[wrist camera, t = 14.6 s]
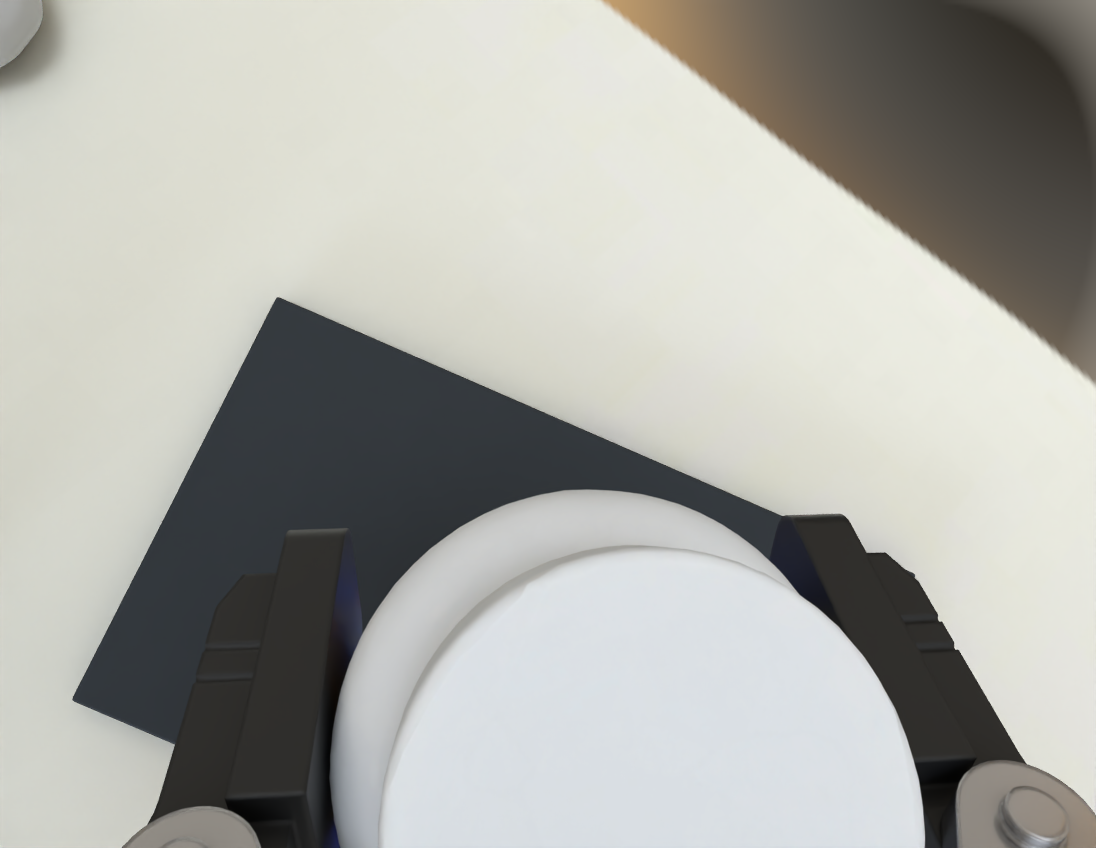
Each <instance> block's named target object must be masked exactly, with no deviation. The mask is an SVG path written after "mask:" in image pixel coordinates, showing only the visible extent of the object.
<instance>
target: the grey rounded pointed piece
mask: <svg viewBox="0 0 1096 848" xmlns="http://www.w3.org/2000/svg"><path fill="white" fill-rule="evenodd" d="M42 19H43V8H42V0H0V68H1V67H3V66H4V65H6V64H7V63H9V62H11V61H12V60H13V59H14V58H16V57H17V56H18V55H19V54H20V53H21V51H22V50H23V49H24V48H25V47H26V45H27V44H28V43H29V41H30V40H31V39H32V38H33V36H34V35H35V33H36V32H37V31H38V29H39V27H40V25H41V22H42Z"/></svg>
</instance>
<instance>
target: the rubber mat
mask: <svg viewBox="0 0 1096 848" xmlns="http://www.w3.org/2000/svg"><path fill="white" fill-rule="evenodd" d="M564 490H608V491H622V492H629V493H637V494H643V495H647V496H651V497H656V498H660V499H663V500H667V501H670V502H673V503H677V504H680V505H682V506H685V507H687V508H690V509H692V510H695V511H697V512H699V513H701V514H703V515H705V516H707V517H709V518H711V519H713V520H715V521H717V522H718V523H720V524H722V525H724V526H725V527H727V528H728V529H730V530H731V531H733V532H734V533H736V534H737V535H739V536H740V537H742V538H743V539H744V540H746V541H747V542H748V543H749V544H751V545H752V546H753V547H755V548H756V549H757V550H758V551H759V552H760V553H762V554H763V555H764V556H765V557H766V558H767V559H768V560H769V558H770V554H771V550H772V546H773V542H774V537H775V533H776V529H777V526H778V523H779V521H780V519H781V518H782V517H783V516H781V515H778V514H776V513H774V512H771V511H769V510H767V509H764V508H762V507H760V506H758V505H755V504H753V503H751V502H748V501H746V500H744V499H741V498H739V497H737V496H735V495H732V494H730V493H728V492H725V491H723V490H721V489H718V488H716V487H714V486H712V485H709V484H707V483H705V482H702V481H700V480H698V479H695V478H693V477H691V476H689V475H686V474H684V473H682V472H679V471H677V470H675V469H672V468H670V467H668V466H666V465H663V464H661V463H659V462H656V461H654V460H652V459H649V458H647V457H645V456H643V455H640V454H638V453H636V452H633V451H631V450H629V449H626V448H624V447H622V446H620V445H617V444H615V443H613V442H610V441H608V440H606V439H603V438H601V437H599V436H597V435H594V434H592V433H590V432H587V431H585V430H583V429H581V428H578V427H576V426H574V425H571V424H569V423H567V422H564V421H562V420H560V419H558V418H555V417H553V416H551V415H548V414H546V413H544V412H541V411H539V410H537V409H535V408H532V407H530V406H528V405H525V404H523V403H521V402H518V401H516V400H514V399H512V398H509V397H507V396H505V395H502V394H500V393H498V392H495V391H493V390H491V389H489V388H486V387H484V386H482V385H479V384H477V383H475V382H472V381H470V380H468V379H466V378H463V377H461V376H459V375H456V374H454V373H452V372H449V371H447V370H445V369H443V368H440V367H438V366H436V365H433V364H431V363H429V362H426V361H424V360H422V359H420V358H417V357H415V356H413V355H410V354H408V353H406V352H403V351H401V350H399V349H397V348H394V347H392V346H390V345H387V344H385V343H383V342H380V341H378V340H376V339H374V338H371V337H369V336H367V335H364V334H362V333H360V332H357V331H355V330H353V329H351V328H348V327H346V326H344V325H341V324H339V323H337V322H334V321H332V320H330V319H328V318H325V317H323V316H321V315H318V314H316V313H314V312H312V311H309V310H307V309H305V308H302V307H300V306H298V305H295V304H293V303H291V302H289V301H286V300H284V299H282V298H278V297H277V298H276V300H275V302H274V304H273V305H272V307H271V309H270V311H269V313H268V315H267V317H266V319H265V321H264V323H263V325H262V327H261V329H260V331H259V333H258V335H257V337H256V339H255V341H254V343H253V345H252V347H251V349H250V351H249V353H248V355H247V357H246V359H245V360H244V362H243V364H242V366H241V368H240V370H239V372H238V374H237V376H236V378H235V380H234V382H233V384H232V386H231V388H230V390H229V392H228V394H227V396H226V398H225V400H224V402H223V404H222V406H221V408H220V410H219V412H218V413H217V415H216V417H215V419H214V421H213V423H212V425H211V427H210V429H209V431H208V433H207V435H206V437H205V439H204V441H203V443H202V445H201V447H200V449H199V451H198V453H197V455H196V457H195V459H194V461H193V463H192V465H191V466H190V468H189V470H188V472H187V474H186V476H185V478H184V480H183V482H182V484H181V486H180V488H179V490H178V492H177V494H176V496H175V498H174V500H173V502H172V504H171V506H170V508H169V510H168V512H167V514H166V516H165V518H164V519H163V521H162V523H161V525H160V527H159V529H158V531H157V533H156V535H155V537H154V539H153V541H152V543H151V545H150V547H149V549H148V551H147V553H146V555H145V557H144V559H143V561H142V563H141V565H140V567H139V569H138V571H137V572H136V574H135V576H134V578H133V580H132V582H131V584H130V586H129V588H128V590H127V592H126V594H125V596H124V598H123V600H122V602H121V604H120V606H119V608H118V610H117V612H116V614H115V616H114V618H113V620H112V622H111V624H110V625H109V627H108V629H107V631H106V633H105V635H104V637H103V639H102V641H101V643H100V645H99V647H98V649H97V651H96V653H95V655H94V657H93V659H92V661H91V663H90V665H89V667H88V669H87V671H86V673H85V675H84V677H83V679H82V680H81V682H80V684H79V686H78V688H77V690H76V692H75V694H74V696H73V699H72V700H73V701H74V702H77V703H79V704H81V705H84V706H86V707H88V708H91V709H93V710H95V711H98V712H100V713H102V714H105V715H107V716H110V717H112V718H114V719H117V720H119V721H121V722H124V723H126V724H128V725H131V726H133V727H135V728H138V729H140V730H142V731H145V732H147V733H149V734H152V735H154V736H156V737H159V738H161V739H163V740H166V741H168V742H170V743H173V744H175V743H176V740H177V737H178V733H179V730H180V727H181V723H182V720H183V716H184V713H185V710H186V706H187V703H188V700H189V696H190V693H191V689H192V686H193V683H195V682H196V672H197V669H198V666H199V662H200V659H201V656H202V652H205V642H206V639H207V635H208V632H209V629H210V625H211V622H212V618H213V615H214V612H215V608H216V606H217V605H218V604H219V603H220V601H221V600H222V599H223V598H224V597H225V595H226V594H227V593H228V592H229V591H230V589H231V588H232V587H233V586H234V585H235V583H236V582H237V581H238V580H239V579H240V577H241V576H242V575H243V574H262V573H277V569H278V564H279V560H280V556H281V551H282V547H283V543H284V539H285V536H286V533H287V532H288V531H289V530H305V529H336V528H349V530H350V532H351V536H352V543H353V551H354V559H355V566H356V574H357V582H358V590H359V598H360V605H361V614H362V634H363V632H364V630H365V628H366V627H367V625H368V623H369V621H370V619H371V618H372V616H373V615H374V613H375V612H376V610H377V608H378V607H379V606H380V604H381V603H382V602H383V600H384V599H385V597H386V596H387V595H388V593H389V592H390V590H391V589H392V588H393V586H394V585H395V584H396V582H397V581H398V580H399V579H400V578H401V577H402V576H403V575H404V574H405V573H406V572H407V571H408V570H409V569H410V567H411V566H412V565H413V564H414V563H415V562H416V561H418V560H419V559H420V558H421V557H422V556H423V555H424V554H425V553H426V552H427V551H428V550H429V549H431V548H432V547H433V546H435V545H436V544H437V543H439V542H440V541H441V540H443V539H444V538H445V537H447V536H448V535H450V534H451V533H452V532H454V531H455V530H457V529H458V528H459V527H461V526H463V525H465V524H466V523H468V522H470V521H472V520H474V519H476V518H477V517H479V516H481V515H483V514H485V513H487V512H490V511H492V510H494V509H497V508H499V507H501V506H504V505H506V504H509V503H513V502H516V501H519V500H523V499H526V498H529V497H533V496H537V495H541V494H547V493H552V492H558V491H564ZM906 571H907V570H906ZM907 572H908V573H909V574H911V575H912V576H913V577H914V578H915V574H914V573H912V572H909V571H907Z"/></svg>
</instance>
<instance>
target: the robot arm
mask: <svg viewBox="0 0 1096 848" xmlns="http://www.w3.org/2000/svg"><path fill="white" fill-rule="evenodd" d="M769 561H770V562H771V563H772V564H773V565H775V567H776V568H777V569H778V570H779V571H780V572H781V573H782V574H783V575H784V576H785V577H786V579H787V580H788V581H789V582H790V584H791V585H792V586H793V587H794V589H795V590H796V591H797V592H798V594H799V595H800V596H802V597H803V598H804V599H806V600H807V601H809V602H810V603H812V604H813V605H814V606H816V607H817V608H818V609H819V610H821V611H822V612H823V613H824V614H825V615H826V616H827V617H828V618H829V619H831V620H832V621H833V622H834V623H835V624H836V625H837V626H838V627H839V628H840V629H841V630H842V631H843V633H844V634H845V635H846V636H847V637H848V638H849V640H850V641H851V642H852V643H853V644H854V646H855V647H856V648H857V649H858V650H859V651H860V653H861V654H862V655H863V656H864V657H865V659H866V661H867V662H868V664H869V665H870V667H871V668H872V670H873V671H874V673H875V674H876V676H877V677H878V679H879V681H880V682H881V684H882V686H883V688H884V690H885V691H886V693H887V695H888V697H889V699H890V700H891V702H892V704H893V706H894V708H895V709H896V712H897V714H898V717H899V719H900V722H901V725H902V727H903V730H904V732H905V735H906V737H907V741H908V744H909V747H910V750H911V754H912V757H913V760H914V764H915V768H916V771H917V775H918V779H919V783H920V791H921V798H922V805H923V816H924V828H925V848H1096V815H1095V813H1094V812H1093V810H1092V809H1091V808H1090V807H1089V806H1088V805H1087V803H1086V802H1085V801H1084V800H1083V799H1082V798H1081V797H1080V796H1079V795H1078V794H1077V793H1076V792H1075V791H1074V790H1072V789H1071V788H1070V787H1068V786H1067V785H1066V784H1064V783H1063V782H1062V781H1060V780H1059V779H1057V778H1055V777H1054V776H1052V775H1050V774H1049V773H1047V772H1045V771H1042V770H1040V769H1038V768H1036V767H1033V766H1030V765H1027V764H1026V763H1025V761H1024V760H1023V758H1022V757H1021V755H1020V754H1019V752H1018V750H1017V749H1016V747H1015V745H1014V744H1013V742H1012V740H1011V738H1010V737H1009V735H1008V733H1007V732H1006V730H1005V728H1004V726H1003V725H1002V723H1001V721H1000V720H999V718H998V716H997V715H996V713H995V711H994V709H993V708H992V706H991V704H990V703H989V701H988V699H987V697H986V696H985V694H984V692H983V691H982V689H981V687H980V686H979V684H978V682H977V680H976V679H975V677H974V675H973V674H972V672H971V670H970V669H969V667H968V665H967V663H966V662H965V660H964V658H963V657H962V655H961V653H960V651H959V650H955V648H954V641H953V640H952V638H951V636H950V634H949V633H948V631H947V629H946V628H945V626H944V624H943V622H939V621H938V614H937V612H936V611H935V609H934V607H933V605H932V604H931V602H930V600H929V599H928V597H927V595H926V594H925V592H924V590H923V588H922V587H921V585H920V583H919V582H918V581H917V580H916V579H915V578H914V577H913V576H912V575H911V574H909V573H908V572H907V571H906V570H905V569H904V568H903V567H901V566H900V565H899V564H898V563H897V562H896V561H895V560H893V559H892V558H891V557H890V556H889V555H888V554H887V553H866V551H865V549H864V547H863V546H862V544H861V542H860V540H859V538H858V536H857V534H856V533H855V531H854V529H853V527H852V525H851V523H850V522H849V520H848V519H847V518H846V517H845V516H844V515H842V514H818V515H786V516H783V517H782V518H781V519H780V521H779V523H778V526H777V529H776V533H775V537H774V542H773V546H772V550H771V554H770V558H769ZM361 636H362V614H361V605H360V598H359V590H358V582H357V574H356V566H355V559H354V551H353V543H352V536H351V532H350V530H349V528H336V529H305V530H289V531H288V532H287V533H286V536H285V539H284V543H283V547H282V551H281V556H280V560H279V564H278V569H277V573H262V574H243V575H242V576H241V577H240V579H239V580H238V581H237V582H236V583H235V585H234V586H233V587H232V588H231V589H230V591H229V592H228V593H227V594H226V595H225V597H224V598H223V599H222V600H221V601H220V603H219V604H218V605H217V606H216V608H215V612H214V615H213V618H212V622H211V625H210V629H209V632H208V635H207V639H206V642H205V652H202V656H201V659H200V662H199V666H198V669H197V672H196V682H195V683H193V686H192V689H191V693H190V696H189V700H188V703H187V706H186V710H185V713H184V716H183V720H182V723H181V727H180V730H179V733H178V737H177V740H176V743H175V747H174V750H173V754H172V757H171V760H170V764H169V767H168V770H167V774H166V777H165V781H164V784H163V787H162V791H161V794H160V797H159V801H158V803H157V806H156V808H155V811H154V813H153V815H152V817H151V819H150V821H149V822H148V824H147V826H145V827H144V828H142V829H141V830H140V831H139V832H137V833H136V834H135V835H134V836H133V837H132V838H131V839H130V840H129V841H128V842H127V843H126V844H125V845H124V846H123V847H122V848H340V845H339V842H338V836H337V831H336V827H335V823H334V814H333V807H332V801H331V788H330V780H329V775H330V752H331V743H332V731H333V725H334V719H335V714H336V709H337V704H338V699H339V695H340V690H341V687H342V684H343V681H344V678H345V675H346V672H347V669H348V666H349V663H350V661H351V658H352V656H353V654H354V651H355V649H356V647H357V645H358V642H359V640H360V638H361Z"/></svg>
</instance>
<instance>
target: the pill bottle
mask: <svg viewBox="0 0 1096 848" xmlns="http://www.w3.org/2000/svg"><path fill="white" fill-rule="evenodd" d="M329 780H330V788H331V801H332V807H333V814H334V823H335V827H336V831H337V836H338V842H339V845H340V848H925V828H924V816H923V805H922V798H921V791H920V783H919V779H918V775H917V771H916V768H915V764H914V760H913V757H912V754H911V750H910V747H909V744H908V741H907V737H906V735H905V732H904V730H903V727H902V725H901V722H900V719H899V717H898V714H897V712H896V709H895V708H894V706H893V704H892V702H891V700H890V699H889V697H888V695H887V693H886V691H885V690H884V688H883V686H882V684H881V682H880V681H879V679H878V677H877V676H876V674H875V673H874V671H873V670H872V668H871V667H870V665H869V664H868V662H867V661H866V659H865V657H864V656H863V655H862V654H861V653H860V651H859V650H858V649H857V648H856V647H855V646H854V644H853V643H852V642H851V641H850V640H849V638H848V637H847V636H846V635H845V634H844V633H843V631H842V630H841V629H840V628H839V627H838V626H837V625H836V624H835V623H834V622H833V621H832V620H831V619H829V618H828V617H827V616H826V615H825V614H824V613H823V612H822V611H821V610H819V609H818V608H817V607H816V606H814V605H813V604H812V603H810V602H809V601H807V600H806V599H804V598H803V597H802V596H800V595H799V594H798V592H797V591H796V590H795V589H794V587H793V586H792V585H791V584H790V582H789V581H788V580H787V579H786V577H785V576H784V575H783V574H782V573H781V572H780V571H779V570H778V569H777V568H776V567H775V565H773V564H772V563H771V562H770V561H769V560H768V559H767V558H766V557H765V556H764V555H763V554H762V553H760V552H759V551H758V550H757V549H756V548H755V547H753V546H752V545H751V544H749V543H748V542H747V541H746V540H744V539H743V538H742V537H740V536H739V535H737V534H736V533H734V532H733V531H731V530H730V529H728V528H727V527H725V526H724V525H722V524H720V523H718V522H717V521H715V520H713V519H711V518H709V517H707V516H705V515H703V514H701V513H699V512H697V511H695V510H692V509H690V508H687V507H685V506H682V505H680V504H677V503H673V502H670V501H667V500H663V499H660V498H656V497H651V496H647V495H643V494H637V493H629V492H622V491H608V490H564V491H558V492H552V493H547V494H541V495H537V496H533V497H529V498H526V499H523V500H519V501H516V502H513V503H509V504H506V505H504V506H501V507H499V508H497V509H494V510H492V511H490V512H487V513H485V514H483V515H481V516H479V517H477V518H476V519H474V520H472V521H470V522H468V523H466V524H465V525H463V526H461V527H459V528H458V529H457V530H455V531H454V532H452V533H451V534H450V535H448V536H447V537H445V538H444V539H443V540H441V541H440V542H439V543H437V544H436V545H435V546H433V547H432V548H431V549H429V550H428V551H427V552H426V553H425V554H424V555H423V556H422V557H421V558H420V559H419V560H418V561H416V562H415V563H414V564H413V565H412V566H411V567H410V569H409V570H408V571H407V572H406V573H405V574H404V575H403V576H402V577H401V578H400V579H399V580H398V581H397V582H396V584H395V585H394V586H393V588H392V589H391V590H390V592H389V593H388V595H387V596H386V597H385V599H384V600H383V602H382V603H381V604H380V606H379V607H378V608H377V610H376V612H375V613H374V615H373V616H372V618H371V619H370V621H369V623H368V625H367V627H366V628H365V630H364V632H363V634H362V636H361V638H360V640H359V642H358V645H357V647H356V649H355V651H354V654H353V656H352V658H351V661H350V663H349V666H348V669H347V672H346V675H345V678H344V681H343V684H342V687H341V690H340V695H339V699H338V704H337V709H336V714H335V719H334V725H333V731H332V743H331V752H330V775H329Z"/></svg>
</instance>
